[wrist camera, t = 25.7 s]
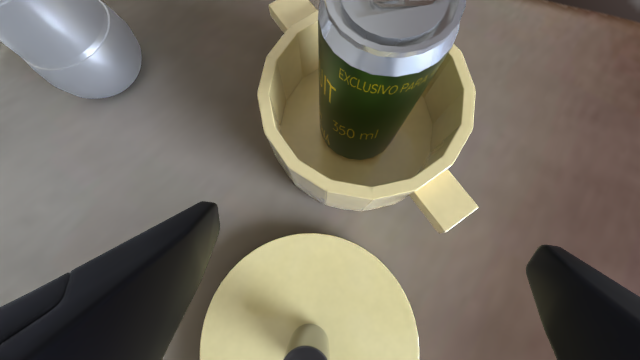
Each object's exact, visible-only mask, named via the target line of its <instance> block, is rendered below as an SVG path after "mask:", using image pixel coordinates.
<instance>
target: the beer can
mask: <svg viewBox="0 0 640 360" xmlns="http://www.w3.org/2000/svg"><path fill="white" fill-rule="evenodd" d="M465 7H466V0H320V4H319V11H318V56H319V111H320V129H321V134H322V137H323V139H324V140H325V142H326V144H327V145H328V147H329V148H331V149H332V150H333V151H334V152H335V153H336V154H338V155H340V156H343V157H345V158H348V159H355V160H363V159H368V158H373V157H374V156H376V155H378V154H380V153H382V152H383V151H384V150H385V149H386V148H387V146H388V145H389V144H390V143H391V141H392V140H393V138H394V137H395V135H396V134H397V132H398V130H399V129H400V127H401V126H402V124H403V123H404V121H405V120H406V118H407V116H408V115H409V113H410V112H411V110H412V109H413V107H414V106H415V104H416V102H417V101H418V99H419V98H420V96H421V95H422V93H423V92H424V90H425V88H426V87H427V85H428V84H429V82H430V81H431V79H432V77H433V76H434V74H435V73H436V71H437V70H438V68H439V67H440V65H441V63H442V62H443V60H444V59H445V57H446V56H447V54H448V53H449V51H450V49H451V48H452V46H453V43H454V41H455V38H456V36H457V33H458V31H459V22H460V19H461V17H462V14H463V12H464V9H465Z"/></svg>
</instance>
